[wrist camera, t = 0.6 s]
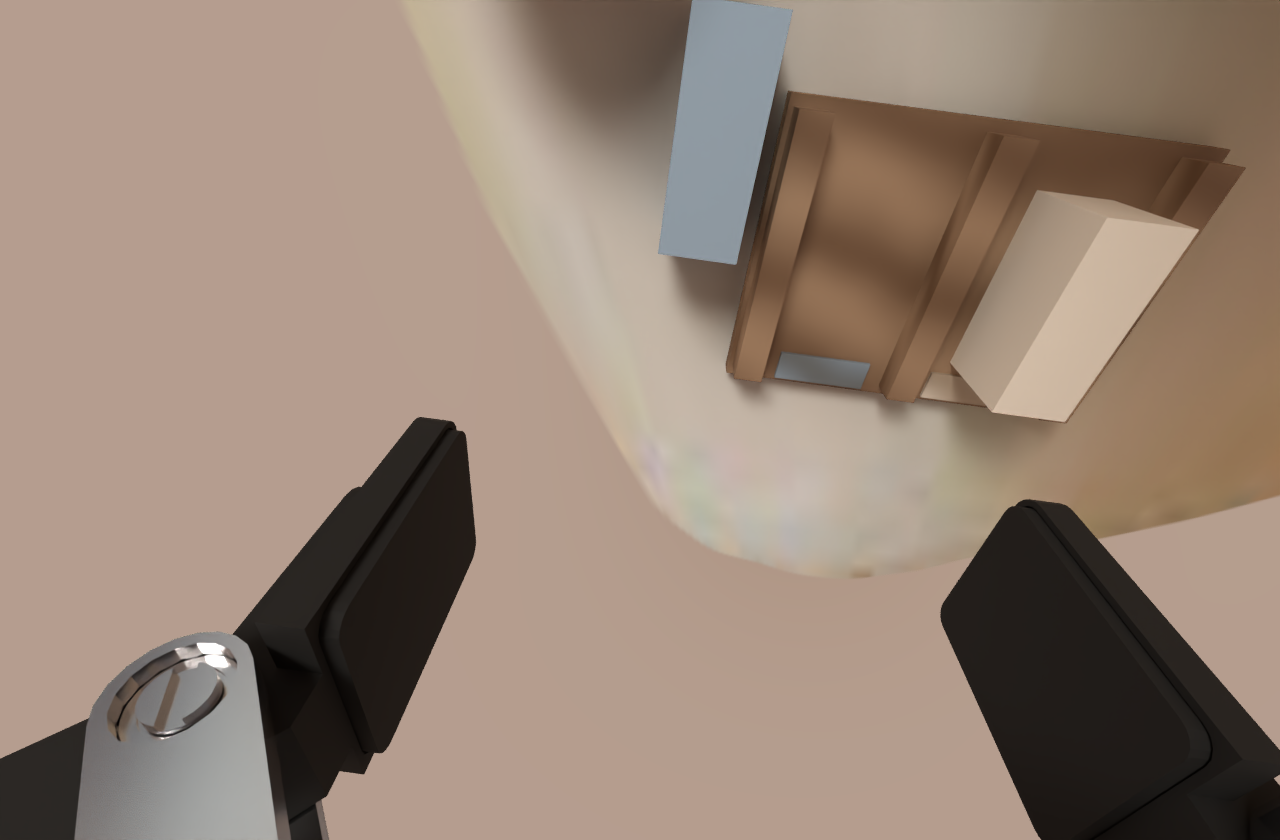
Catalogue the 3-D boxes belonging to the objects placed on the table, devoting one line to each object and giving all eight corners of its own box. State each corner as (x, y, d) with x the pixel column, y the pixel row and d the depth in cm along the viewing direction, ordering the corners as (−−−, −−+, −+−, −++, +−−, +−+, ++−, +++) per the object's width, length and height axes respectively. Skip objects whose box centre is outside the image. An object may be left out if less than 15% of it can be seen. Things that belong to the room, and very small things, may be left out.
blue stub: (692, 6, 22) (692, -5, 18) (774, 18, 22) (792, 9, 18) (663, 224, 28) (658, 253, 23) (729, 233, 28) (736, 264, 23)
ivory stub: (1036, 190, 24) (1107, 217, 20) (1113, 200, 24) (1199, 229, 20) (949, 362, 29) (992, 412, 25) (1012, 370, 29) (1064, 422, 25)
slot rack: (788, 90, 24) (797, 94, 22) (1211, 146, 23) (1261, 155, 21) (725, 364, 32) (727, 385, 30) (1041, 406, 31) (1065, 431, 29)
